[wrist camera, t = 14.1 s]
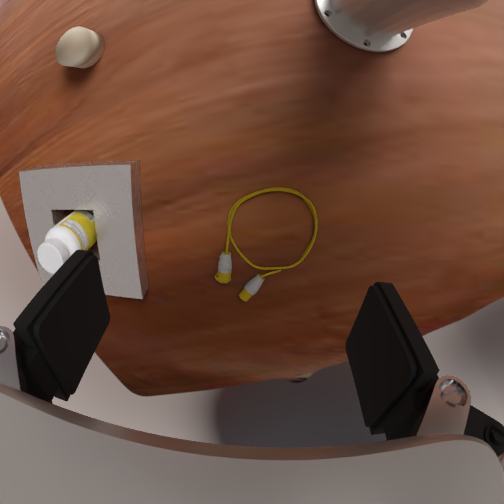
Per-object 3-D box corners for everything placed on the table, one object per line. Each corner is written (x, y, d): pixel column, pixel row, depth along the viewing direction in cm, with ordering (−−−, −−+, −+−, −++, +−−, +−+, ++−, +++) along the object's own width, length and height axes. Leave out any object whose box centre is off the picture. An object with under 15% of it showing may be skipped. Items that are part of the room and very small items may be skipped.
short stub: (74, 37, 24) (58, 32, 20) (107, 29, 24) (92, 22, 20) (71, 71, 26) (53, 69, 22) (103, 64, 26) (87, 61, 22)
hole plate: (31, 166, 31) (19, 171, 28) (139, 159, 32) (130, 164, 29) (51, 275, 39) (42, 285, 37) (148, 286, 40) (142, 299, 37)
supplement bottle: (78, 245, 37) (43, 280, 28) (67, 210, 34) (26, 240, 26) (107, 240, 37) (74, 278, 28) (96, 203, 34) (57, 233, 25)
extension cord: (183, 236, 37) (180, 242, 35) (288, 166, 33) (290, 169, 31) (238, 300, 42) (238, 308, 40) (336, 243, 38) (340, 250, 36)
